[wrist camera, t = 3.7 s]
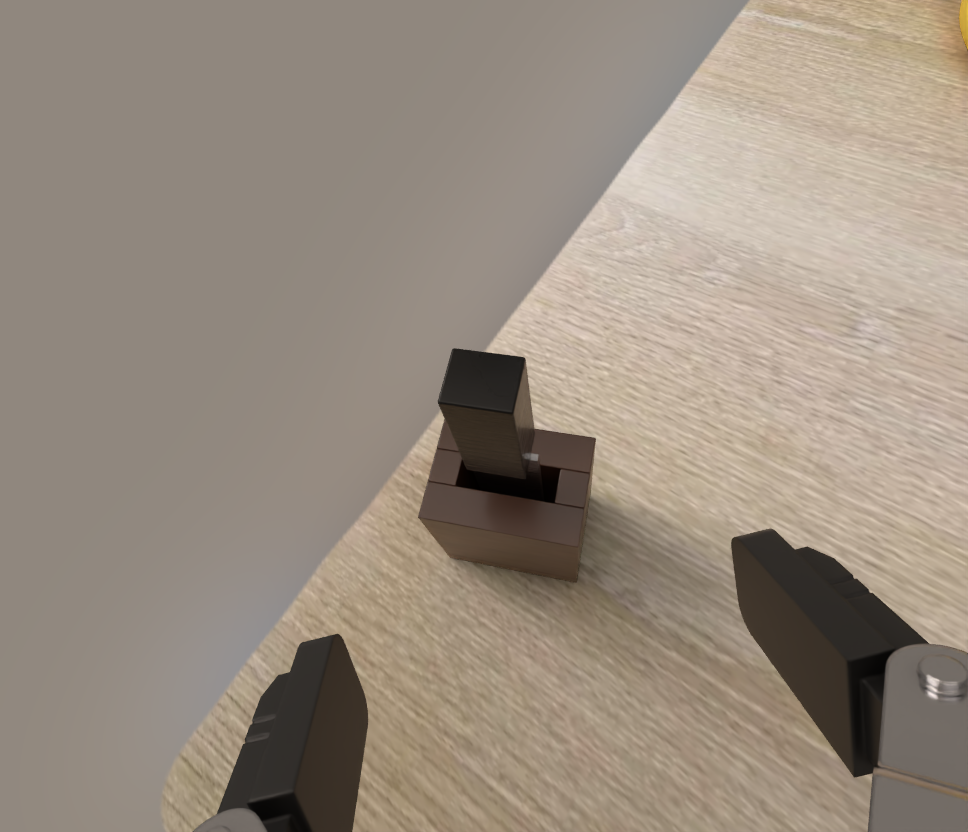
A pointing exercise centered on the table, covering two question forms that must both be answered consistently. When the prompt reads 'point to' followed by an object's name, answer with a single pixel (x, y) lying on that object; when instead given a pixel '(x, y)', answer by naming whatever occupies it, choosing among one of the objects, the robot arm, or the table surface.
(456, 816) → the table surface
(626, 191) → the table surface
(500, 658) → the table surface
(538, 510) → the knife block
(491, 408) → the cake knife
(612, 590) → the table surface
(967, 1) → the teapot
